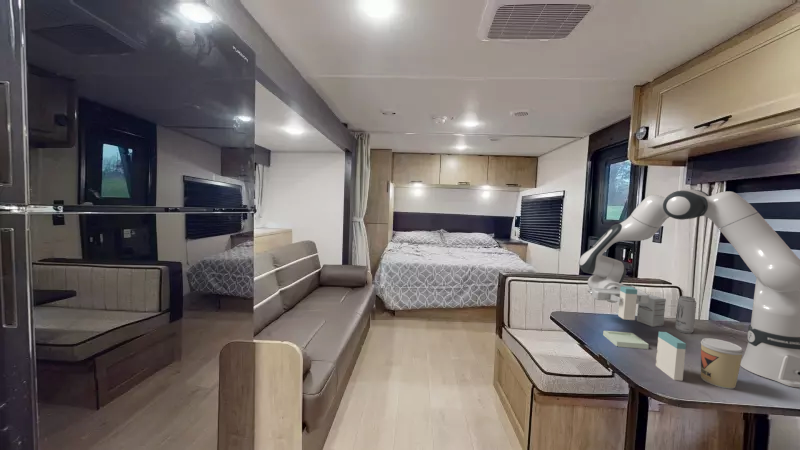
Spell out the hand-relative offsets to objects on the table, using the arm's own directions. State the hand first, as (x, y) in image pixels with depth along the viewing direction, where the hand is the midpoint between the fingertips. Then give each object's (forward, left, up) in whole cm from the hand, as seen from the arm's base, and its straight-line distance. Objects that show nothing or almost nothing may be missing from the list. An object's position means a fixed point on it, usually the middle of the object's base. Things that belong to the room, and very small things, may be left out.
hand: (629, 301), depth 128 cm
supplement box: (-17, -31, -17) cm, 39 cm away
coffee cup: (-19, +22, -17) cm, 34 cm away
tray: (0, -1, -17) cm, 17 cm away
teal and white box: (-6, +22, -17) cm, 28 cm away
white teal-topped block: (0, -1, -7) cm, 7 cm away
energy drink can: (-28, -26, -17) cm, 42 cm away
